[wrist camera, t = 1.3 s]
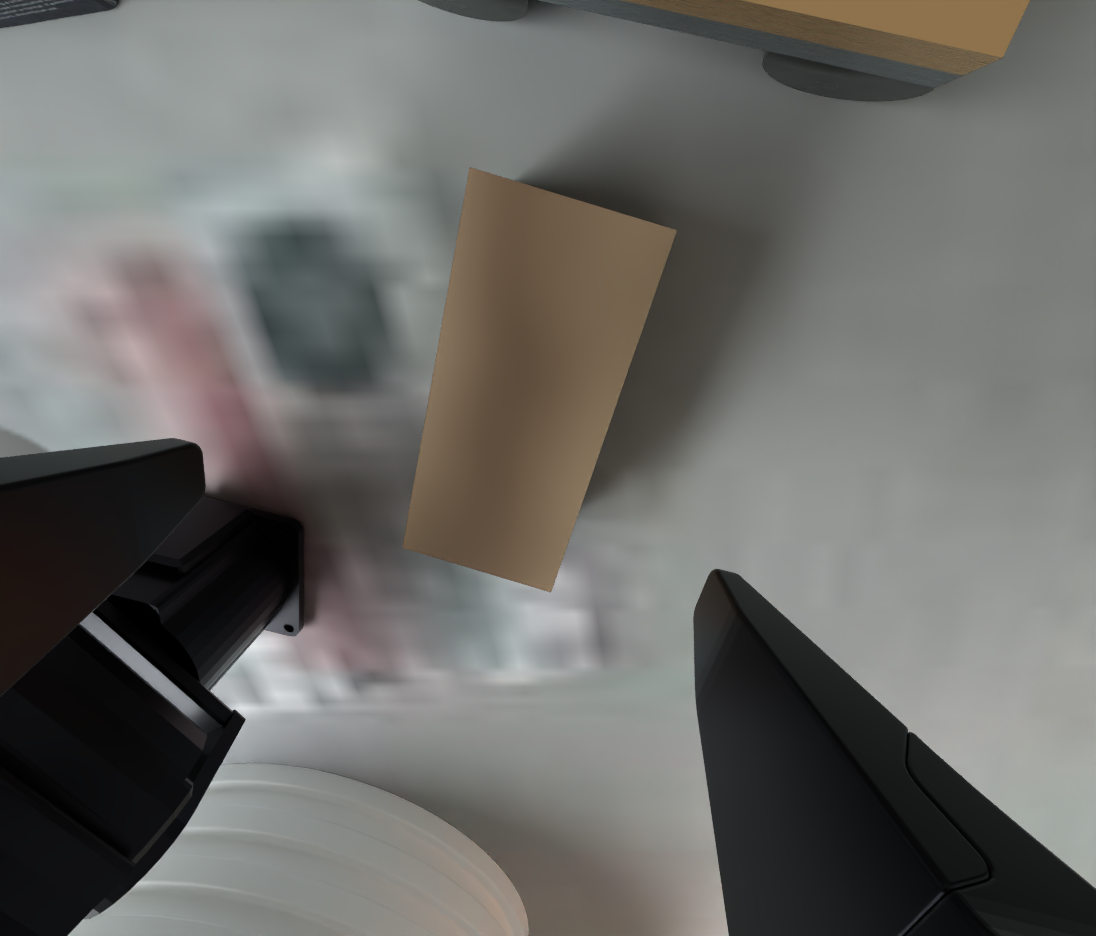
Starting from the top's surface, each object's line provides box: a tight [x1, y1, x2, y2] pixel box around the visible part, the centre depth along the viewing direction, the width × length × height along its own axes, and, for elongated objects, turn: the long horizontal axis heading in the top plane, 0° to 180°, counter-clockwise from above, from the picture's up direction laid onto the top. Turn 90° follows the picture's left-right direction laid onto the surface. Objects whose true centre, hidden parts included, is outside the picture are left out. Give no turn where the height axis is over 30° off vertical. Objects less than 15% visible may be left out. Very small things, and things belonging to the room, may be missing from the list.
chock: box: [402, 167, 677, 592], centre depth 17 cm, size 5×11×5 cm, turn 165°
